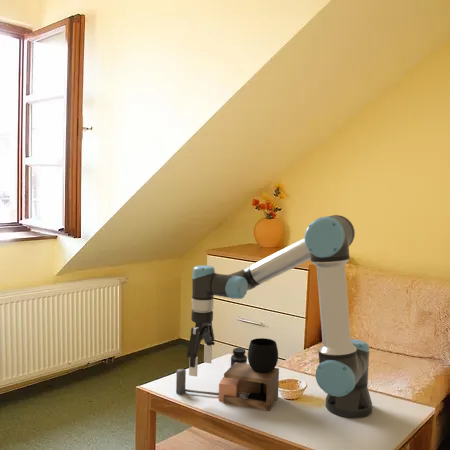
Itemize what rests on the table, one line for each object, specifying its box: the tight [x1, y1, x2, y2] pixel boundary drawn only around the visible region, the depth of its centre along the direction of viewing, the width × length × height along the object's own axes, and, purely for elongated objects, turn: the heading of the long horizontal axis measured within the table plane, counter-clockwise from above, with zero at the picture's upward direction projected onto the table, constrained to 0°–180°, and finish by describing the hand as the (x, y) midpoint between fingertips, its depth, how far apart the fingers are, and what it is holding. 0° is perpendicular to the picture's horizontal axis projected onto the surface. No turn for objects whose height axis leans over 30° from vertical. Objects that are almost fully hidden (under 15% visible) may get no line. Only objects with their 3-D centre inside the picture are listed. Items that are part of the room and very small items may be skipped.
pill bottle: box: [230, 347, 248, 367], centre depth 199 cm, size 6×6×11 cm
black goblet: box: [246, 337, 279, 403], centre depth 180 cm, size 10×10×20 cm
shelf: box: [222, 362, 280, 412], centre depth 179 cm, size 16×12×10 cm
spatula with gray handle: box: [175, 368, 241, 402], centre depth 182 cm, size 22×6×8 cm, turn 77°
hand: (200, 368), depth 185 cm, fingers open, 13 cm apart
